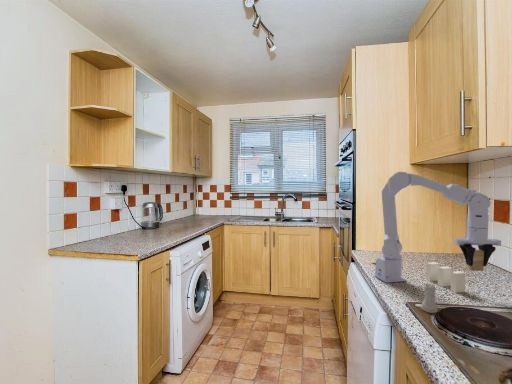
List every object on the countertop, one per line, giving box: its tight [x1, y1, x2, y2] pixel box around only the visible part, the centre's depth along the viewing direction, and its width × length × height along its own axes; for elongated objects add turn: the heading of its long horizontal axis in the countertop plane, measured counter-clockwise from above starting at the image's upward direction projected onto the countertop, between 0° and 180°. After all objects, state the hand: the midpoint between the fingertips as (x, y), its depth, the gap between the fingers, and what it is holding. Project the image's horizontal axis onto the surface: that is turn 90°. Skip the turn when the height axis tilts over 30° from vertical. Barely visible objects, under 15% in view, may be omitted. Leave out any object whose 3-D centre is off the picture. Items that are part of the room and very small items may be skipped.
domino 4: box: [467, 249, 485, 272], centre depth 96 cm, size 2×4×7 cm, turn 85°
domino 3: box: [450, 270, 466, 294], centre depth 99 cm, size 2×4×7 cm, turn 102°
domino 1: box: [425, 261, 440, 282], centre depth 110 cm, size 2×4×7 cm, turn 102°
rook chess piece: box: [420, 283, 439, 314], centre depth 84 cm, size 4×4×8 cm
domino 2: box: [437, 265, 452, 288], centre depth 104 cm, size 2×4×7 cm, turn 102°
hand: (476, 265), depth 96 cm, fingers closed on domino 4, 4 cm apart
